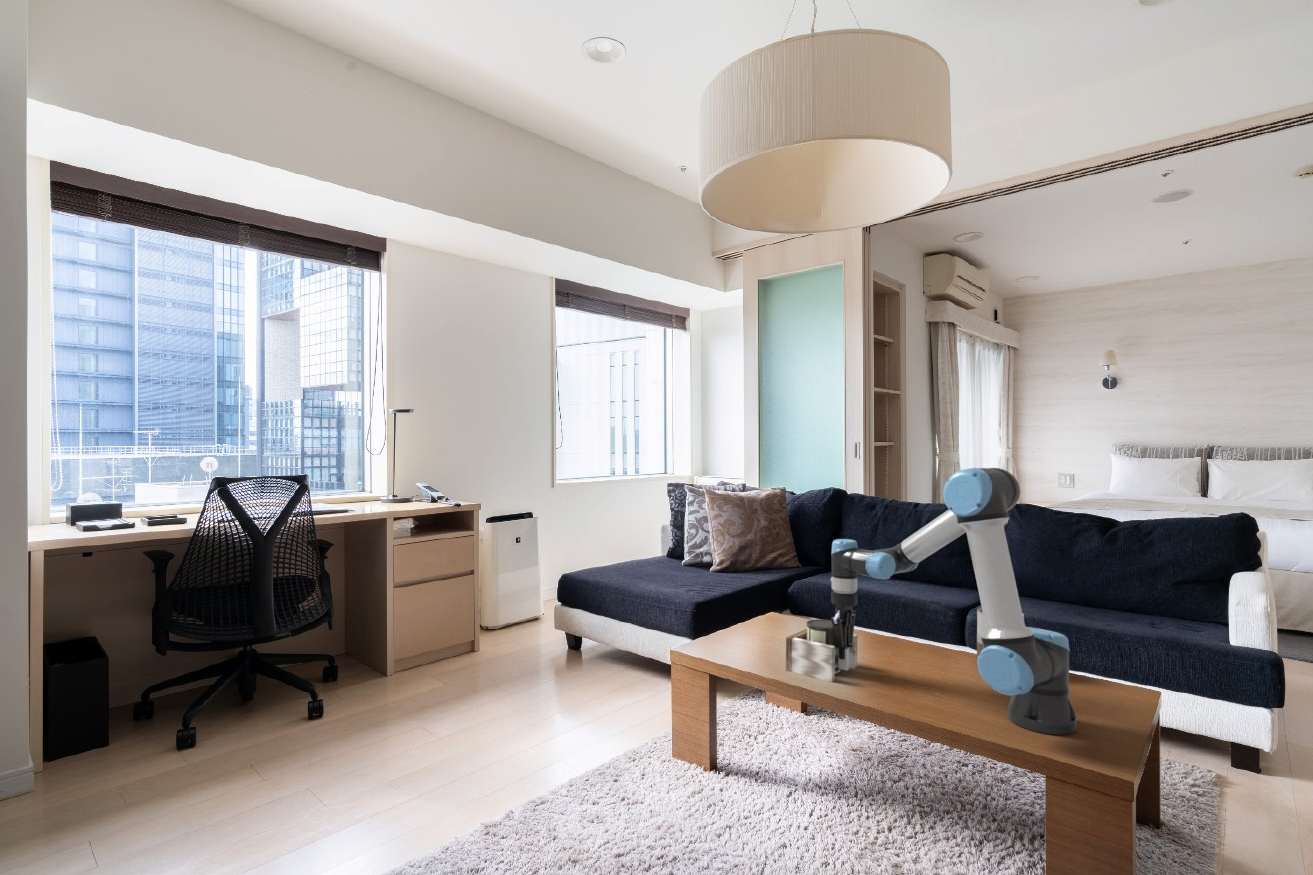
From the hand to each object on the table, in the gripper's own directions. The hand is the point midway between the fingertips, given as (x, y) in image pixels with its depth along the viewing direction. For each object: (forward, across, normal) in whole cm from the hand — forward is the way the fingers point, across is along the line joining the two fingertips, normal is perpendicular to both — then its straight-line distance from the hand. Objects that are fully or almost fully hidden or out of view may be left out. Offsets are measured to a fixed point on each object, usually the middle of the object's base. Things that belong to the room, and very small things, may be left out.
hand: (843, 668), depth 203 cm
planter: (+2, -37, +35) cm, 51 cm away
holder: (+2, 0, -6) cm, 6 cm away
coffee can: (+2, 0, -7) cm, 7 cm away
